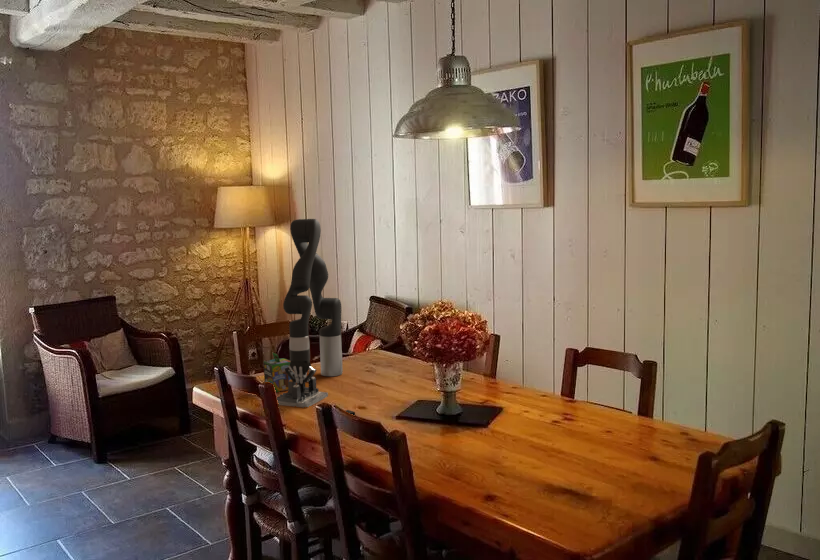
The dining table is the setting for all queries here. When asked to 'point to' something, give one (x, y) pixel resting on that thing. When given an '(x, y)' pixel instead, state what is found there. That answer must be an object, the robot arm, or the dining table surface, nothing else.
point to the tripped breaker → (290, 386)
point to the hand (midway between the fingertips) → (301, 392)
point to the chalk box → (277, 373)
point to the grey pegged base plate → (302, 396)
